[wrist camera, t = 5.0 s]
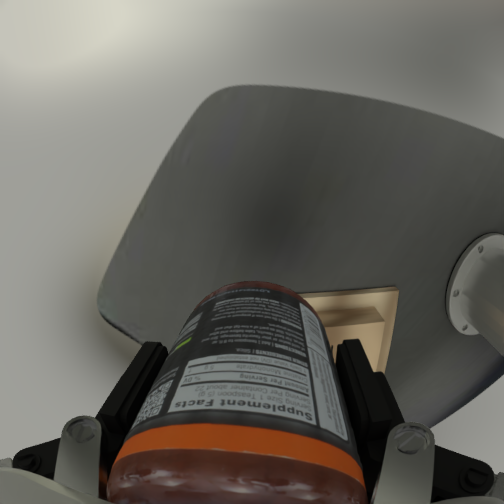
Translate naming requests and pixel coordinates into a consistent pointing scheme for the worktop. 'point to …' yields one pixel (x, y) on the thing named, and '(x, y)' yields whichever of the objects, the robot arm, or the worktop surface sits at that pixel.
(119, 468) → the supplement bottle
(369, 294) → the oak base
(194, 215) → the worktop surface
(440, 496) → the robot arm
